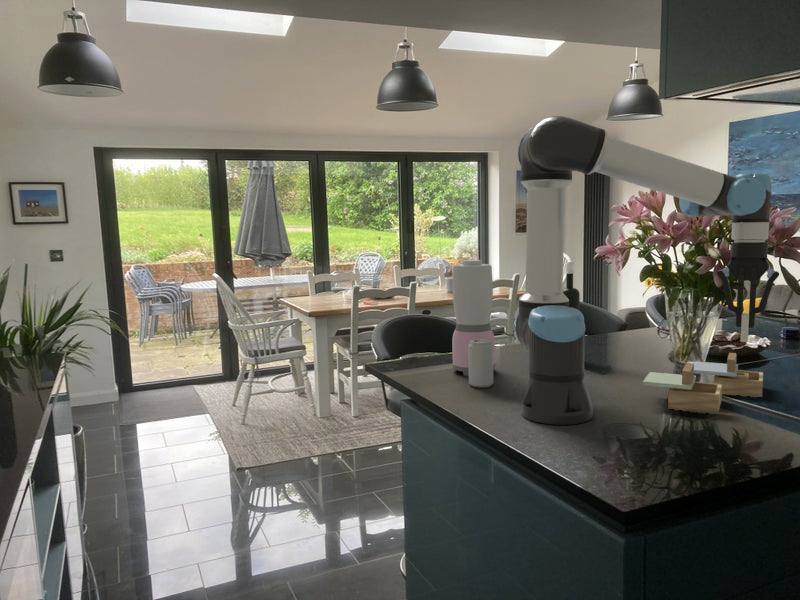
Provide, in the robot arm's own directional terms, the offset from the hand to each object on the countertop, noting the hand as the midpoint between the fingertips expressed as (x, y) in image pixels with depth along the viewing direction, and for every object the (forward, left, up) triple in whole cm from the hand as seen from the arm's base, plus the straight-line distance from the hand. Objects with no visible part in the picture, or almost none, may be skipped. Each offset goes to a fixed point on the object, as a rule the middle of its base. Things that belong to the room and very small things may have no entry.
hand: (744, 340), depth 149 cm
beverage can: (-18, +60, -13) cm, 64 cm away
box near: (-16, +9, -13) cm, 22 cm away
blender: (-3, +69, -13) cm, 70 cm away
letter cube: (0, +1, -12) cm, 12 cm away
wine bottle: (+20, +47, -13) cm, 53 cm away
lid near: (-16, +14, -8) cm, 23 cm away
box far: (0, +1, -13) cm, 13 cm away
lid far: (0, +6, -8) cm, 10 cm away
